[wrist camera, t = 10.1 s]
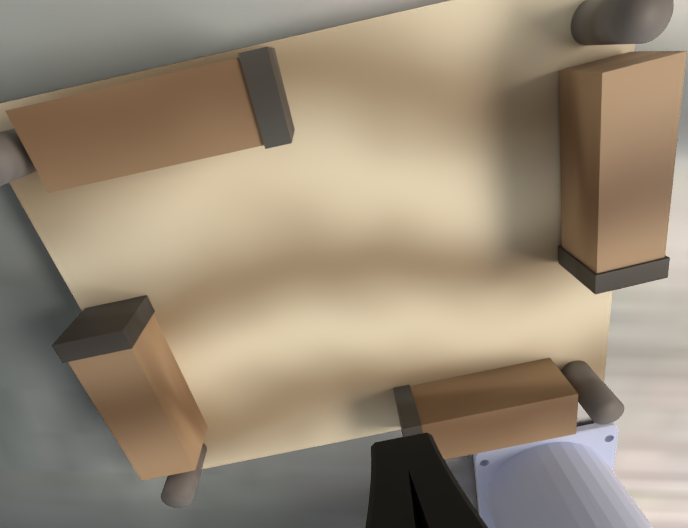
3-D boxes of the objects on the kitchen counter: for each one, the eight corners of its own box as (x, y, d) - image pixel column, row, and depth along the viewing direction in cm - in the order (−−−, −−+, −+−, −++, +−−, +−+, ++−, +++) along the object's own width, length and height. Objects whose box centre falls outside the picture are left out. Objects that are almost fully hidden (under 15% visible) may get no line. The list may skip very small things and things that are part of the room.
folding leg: (554, 71, 15) (601, 74, 12) (631, 50, 14) (693, 50, 12) (558, 263, 18) (595, 294, 16) (620, 248, 18) (667, 277, 15)
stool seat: (589, 373, 22) (639, 430, 19) (180, 454, 23) (157, 524, 20) (618, -37, 14) (712, -65, 11) (-8, 106, 15) (-101, 121, 12)
